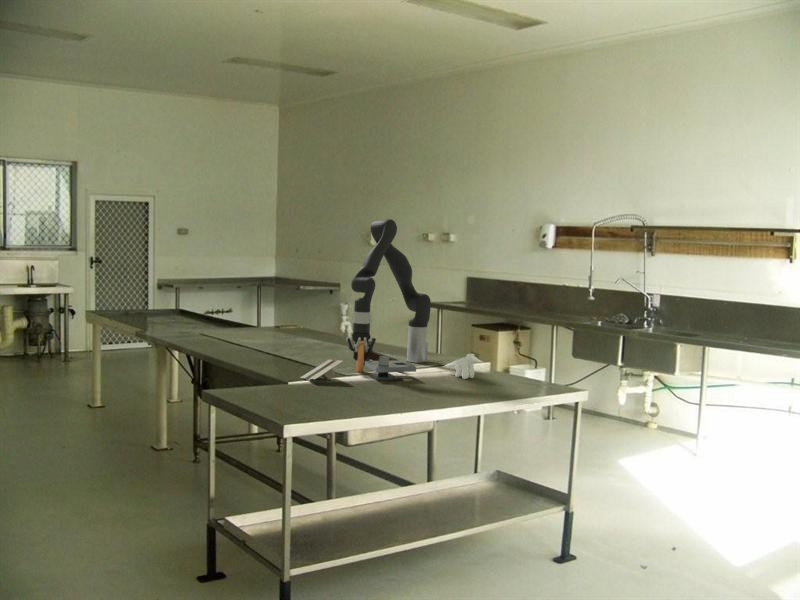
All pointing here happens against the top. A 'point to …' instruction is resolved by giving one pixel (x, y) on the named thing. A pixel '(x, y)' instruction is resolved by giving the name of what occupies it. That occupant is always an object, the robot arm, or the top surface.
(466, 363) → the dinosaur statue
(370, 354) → the hammer
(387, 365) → the plate with round knob
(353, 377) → the top surface
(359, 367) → the pin
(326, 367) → the gray slanted slat stand
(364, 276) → the robot arm
